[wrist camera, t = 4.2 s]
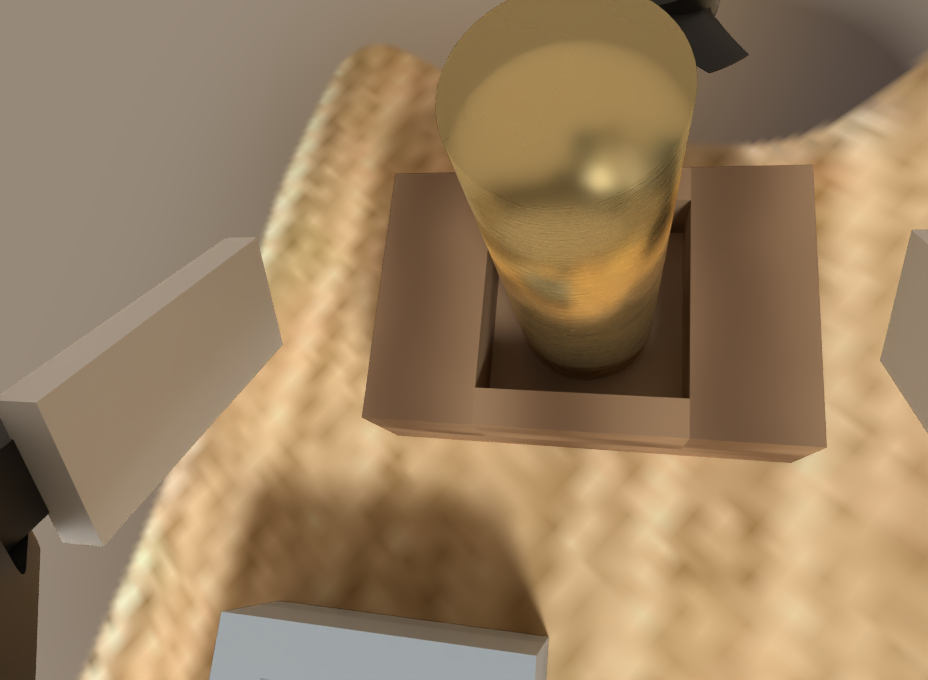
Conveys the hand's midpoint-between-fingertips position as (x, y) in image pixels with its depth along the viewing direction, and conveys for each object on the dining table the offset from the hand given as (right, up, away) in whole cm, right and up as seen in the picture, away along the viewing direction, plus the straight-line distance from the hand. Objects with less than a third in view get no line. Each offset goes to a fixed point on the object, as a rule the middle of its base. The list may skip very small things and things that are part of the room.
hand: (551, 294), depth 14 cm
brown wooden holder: (+3, -1, +11) cm, 12 cm away
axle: (+3, 0, +10) cm, 10 cm away
